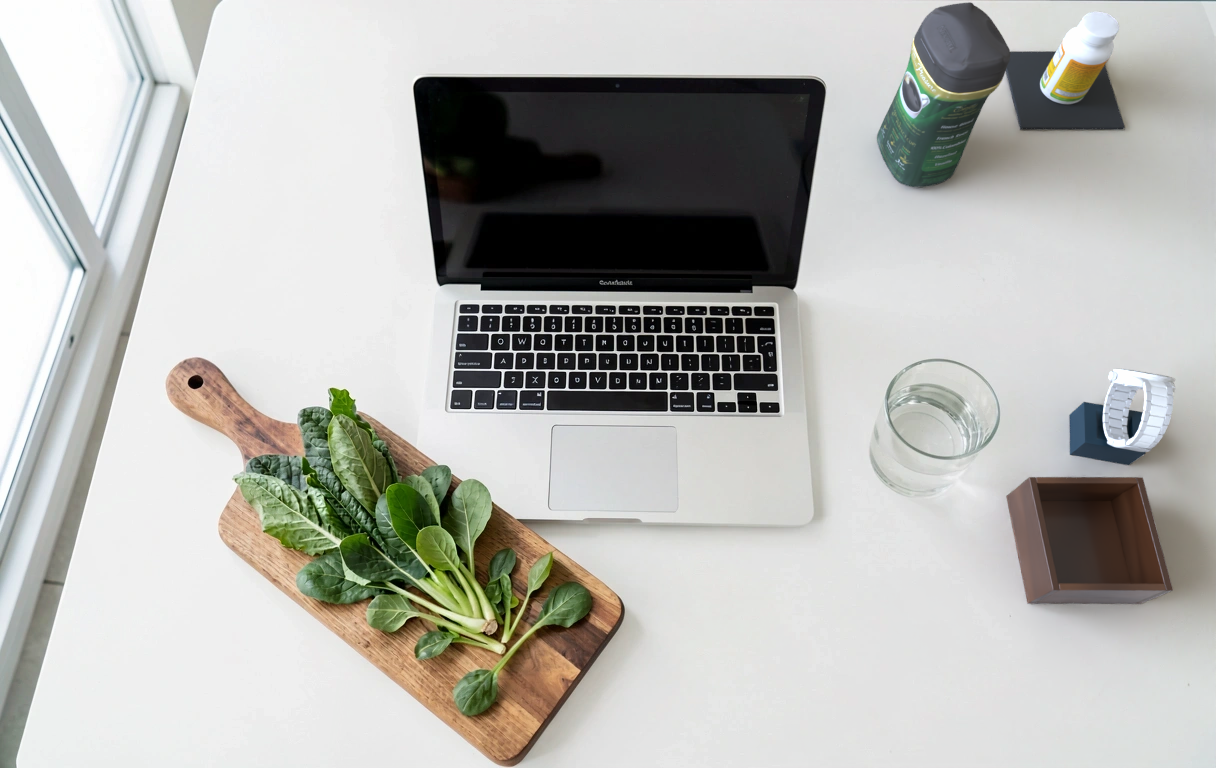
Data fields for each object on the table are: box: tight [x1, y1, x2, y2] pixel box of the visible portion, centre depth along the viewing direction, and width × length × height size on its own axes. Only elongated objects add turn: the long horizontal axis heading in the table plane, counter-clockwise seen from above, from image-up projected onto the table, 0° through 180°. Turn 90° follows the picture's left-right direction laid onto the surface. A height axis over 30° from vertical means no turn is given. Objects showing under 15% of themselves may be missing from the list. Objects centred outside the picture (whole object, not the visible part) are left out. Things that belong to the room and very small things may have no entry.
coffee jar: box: [876, 1, 1011, 188], centre depth 95 cm, size 10×8×19 cm
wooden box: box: [1006, 476, 1174, 605], centre depth 81 cm, size 10×10×5 cm
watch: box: [1068, 368, 1176, 466], centre depth 83 cm, size 6×8×11 cm
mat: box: [1005, 50, 1126, 131], centre depth 108 cm, size 12×12×1 cm
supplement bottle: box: [1040, 11, 1120, 104], centre depth 103 cm, size 5×5×10 cm
